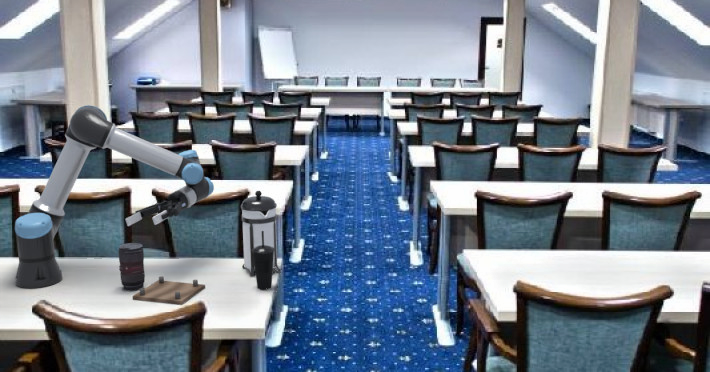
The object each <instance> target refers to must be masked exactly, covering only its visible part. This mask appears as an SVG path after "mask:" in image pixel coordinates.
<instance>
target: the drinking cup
mask: <svg viewBox="0 0 710 372" xmlns="http://www.w3.org/2000/svg"><path fill="white" fill-rule="evenodd" d="M274 250H275V249H274V248H273V247H270V246H267V245H264V231H262V245H260V246H257V247H255V248H253V249H252V252H253V258H254V266H255V278H256V279H255V281H256V287H257V289H258V290H260V291H266V290H267V291H268V290H269V289H271V288H272V284H273V283H272V281H273V272H274V270H273V255H274Z"/></svg>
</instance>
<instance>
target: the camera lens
mask: <svg viewBox="0 0 710 372" xmlns="http://www.w3.org/2000/svg"><path fill="white" fill-rule="evenodd" d="M144 254H145V253H144V246H143V244H141V243H137V242H129V243H123V244H121V245H119V247H118V260H119V261H118V262H119V267H118V268H119V272H120V274H119V275H120V281H121V285H122V288H123V290H124V291H129V292H131V291H133V292H134V291H138V290H139V291H140V288H145V287H144V285H145V278H146V277H145V262H144V261H145V260H144V259H145V258H144V257H145V255H144Z"/></svg>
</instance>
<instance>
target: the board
mask: <svg viewBox="0 0 710 372" xmlns="http://www.w3.org/2000/svg"><path fill="white" fill-rule="evenodd" d="M205 289H206V284H203V283H202V284H200V283H199V282H198V279H193V280H192V282H181V281H171V280H170V281H169V280H165V278H164V276H159V277H158V280H156V281H155V282H152V283H151V284H150V285H148V286H146V287H143V288H140V289H139V291H138V292H136V293H135V294H133V295H132V300H133V301H134V300H135V301H142V302H152V303H163V304H171V305H183V304H185V303H186V302H187V301H189V300H190V299H192V298H194V297H195V296H196V295H198V294H199V293H201V292H202V291H203V290H205Z"/></svg>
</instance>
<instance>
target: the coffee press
mask: <svg viewBox="0 0 710 372" xmlns="http://www.w3.org/2000/svg"><path fill="white" fill-rule="evenodd" d="M254 195H255V196H250V197H247V198H245V199H243V201H242V203H241V204H240V209H241V212H242V214H241V221H242V239H243V240H242V244H243V245H242V246H243V262H244V263H243V264H242V266H241V267H242V269H243V270H245V269H247V270H250V272H249V276H250V277H256V273H255V266H254V258H253V252H252V249H253V248H255V247H257V246H260V245H262V231H264V245H267V246H270V247H273V248H274V249H275V250H274V255H273V272H274V273H276V274H278V273H280V272H281V268H280V267H279V266H278V246H277V245H278V244H277V243H278V242H277V211H276V209H277V206H278V205H277V203H276V201H275V199H274V198H272V197H270V196H267V195H266V196H265V195H262V192H261V191H260V190H256V191H255V193H254Z"/></svg>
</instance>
